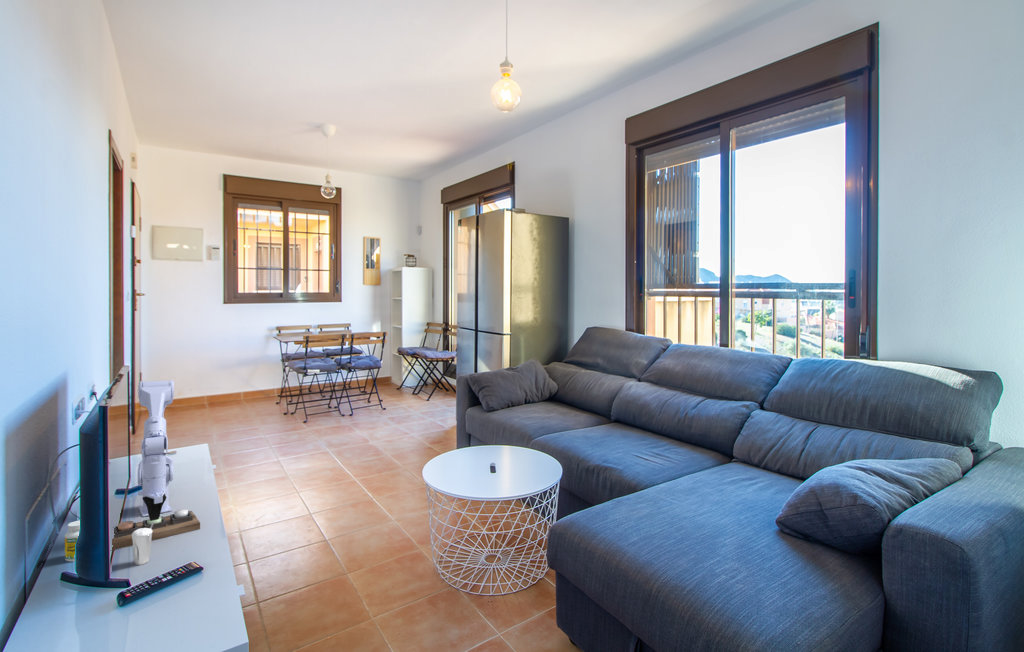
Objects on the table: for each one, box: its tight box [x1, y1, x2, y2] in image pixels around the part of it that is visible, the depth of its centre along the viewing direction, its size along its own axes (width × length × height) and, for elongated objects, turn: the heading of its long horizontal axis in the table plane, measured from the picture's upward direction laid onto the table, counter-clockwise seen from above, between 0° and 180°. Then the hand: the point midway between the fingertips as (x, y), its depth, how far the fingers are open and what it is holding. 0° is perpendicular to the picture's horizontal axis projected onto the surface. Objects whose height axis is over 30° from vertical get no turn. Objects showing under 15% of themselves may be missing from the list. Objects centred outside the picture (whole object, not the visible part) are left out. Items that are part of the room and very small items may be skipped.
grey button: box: [173, 508, 189, 519], centre depth 159 cm, size 4×4×2 cm
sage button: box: [146, 516, 162, 525], centre depth 154 cm, size 4×4×2 cm
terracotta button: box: [117, 520, 134, 531], centre depth 149 cm, size 4×4×2 cm
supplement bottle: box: [64, 520, 80, 562], centre depth 138 cm, size 5×5×10 cm
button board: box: [111, 510, 201, 551], centre depth 154 cm, size 12×22×4 cm, turn 133°
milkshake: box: [132, 522, 154, 566], centre depth 136 cm, size 4×5×10 cm
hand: (154, 519), depth 154 cm, fingers closed, pressing on sage button
